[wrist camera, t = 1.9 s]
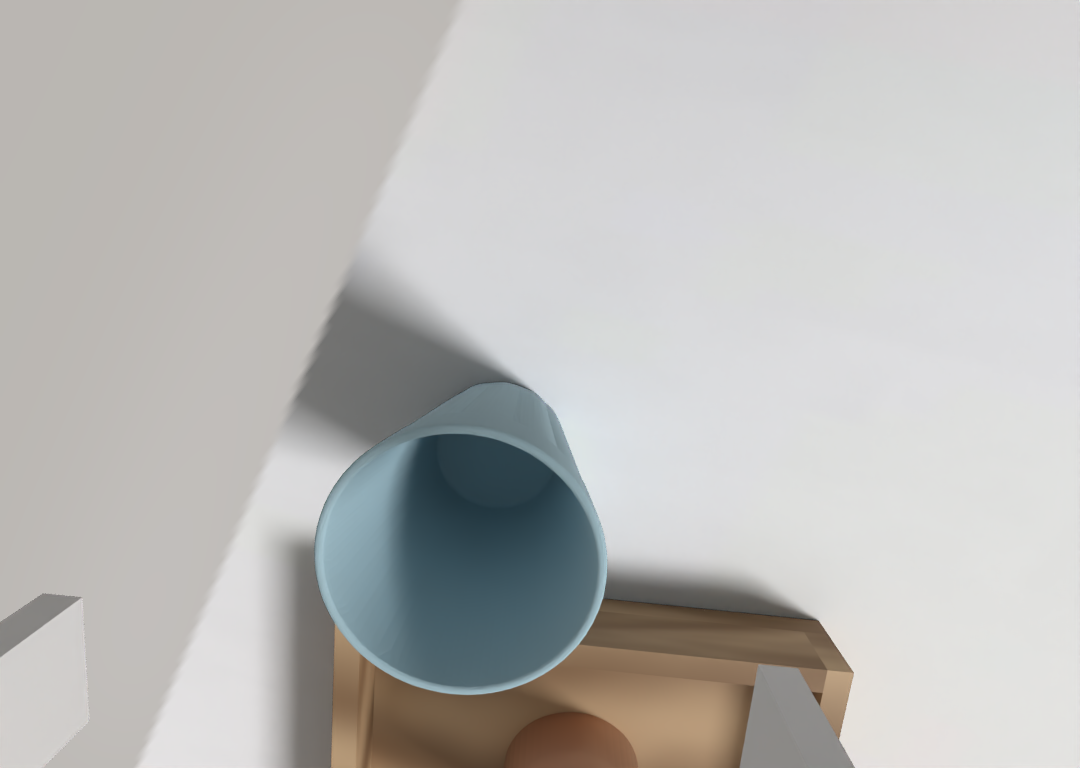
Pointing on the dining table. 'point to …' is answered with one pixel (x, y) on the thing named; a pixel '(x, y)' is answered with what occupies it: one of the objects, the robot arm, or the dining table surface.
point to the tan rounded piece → (570, 744)
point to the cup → (464, 546)
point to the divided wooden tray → (596, 692)
